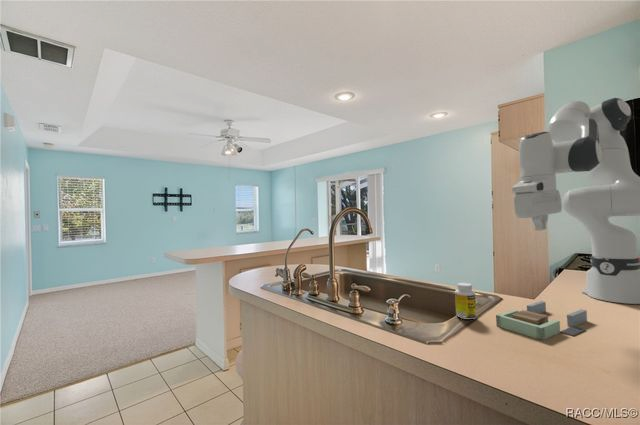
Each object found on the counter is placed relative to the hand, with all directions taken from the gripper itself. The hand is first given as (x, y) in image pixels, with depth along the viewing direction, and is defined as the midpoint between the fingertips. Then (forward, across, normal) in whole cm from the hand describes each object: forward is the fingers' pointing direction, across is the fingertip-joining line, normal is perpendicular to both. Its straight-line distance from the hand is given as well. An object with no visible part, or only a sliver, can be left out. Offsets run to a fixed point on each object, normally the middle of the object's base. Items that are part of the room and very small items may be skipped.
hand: (540, 230), depth 92 cm
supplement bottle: (+25, +24, -10) cm, 36 cm away
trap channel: (+25, +12, +4) cm, 28 cm away
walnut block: (+25, +18, +5) cm, 31 cm away
